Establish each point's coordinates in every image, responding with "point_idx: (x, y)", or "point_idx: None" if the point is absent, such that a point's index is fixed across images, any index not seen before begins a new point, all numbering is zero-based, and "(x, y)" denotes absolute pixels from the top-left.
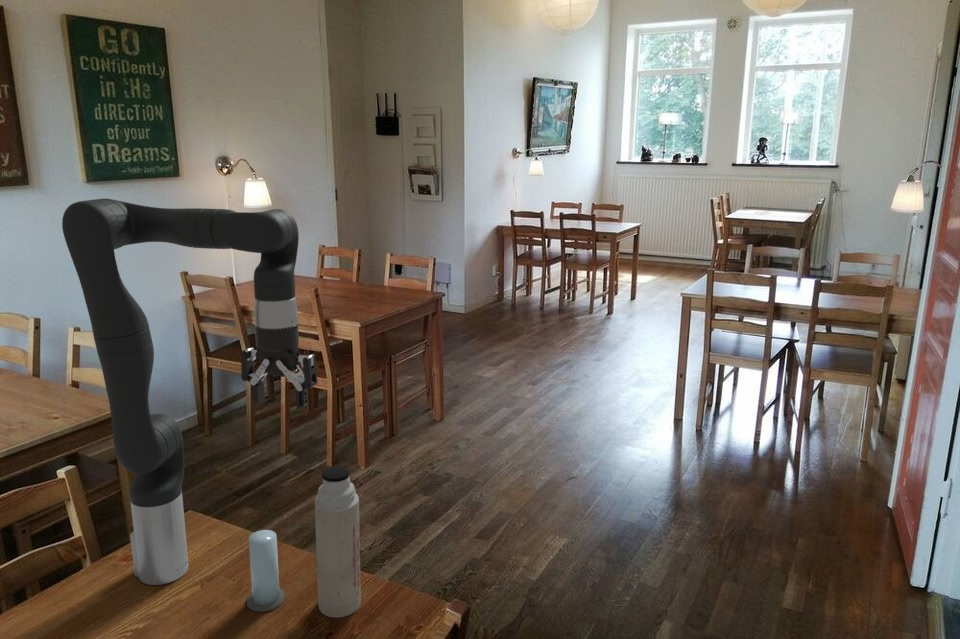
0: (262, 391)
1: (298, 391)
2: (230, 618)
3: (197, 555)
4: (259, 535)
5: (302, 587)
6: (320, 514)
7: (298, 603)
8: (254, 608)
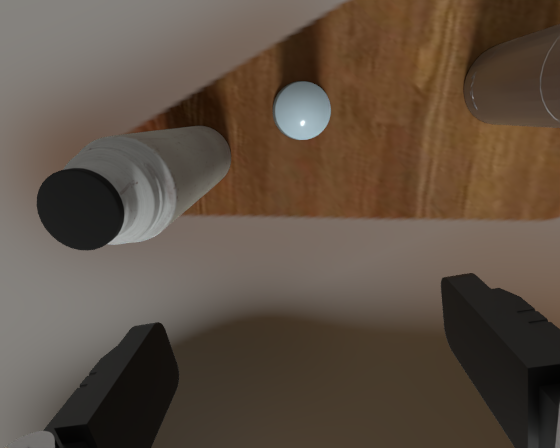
0: (482, 377)
1: (62, 429)
2: (319, 50)
3: (480, 145)
4: (312, 112)
5: (273, 161)
6: (131, 135)
7: (253, 128)
8: (298, 81)
